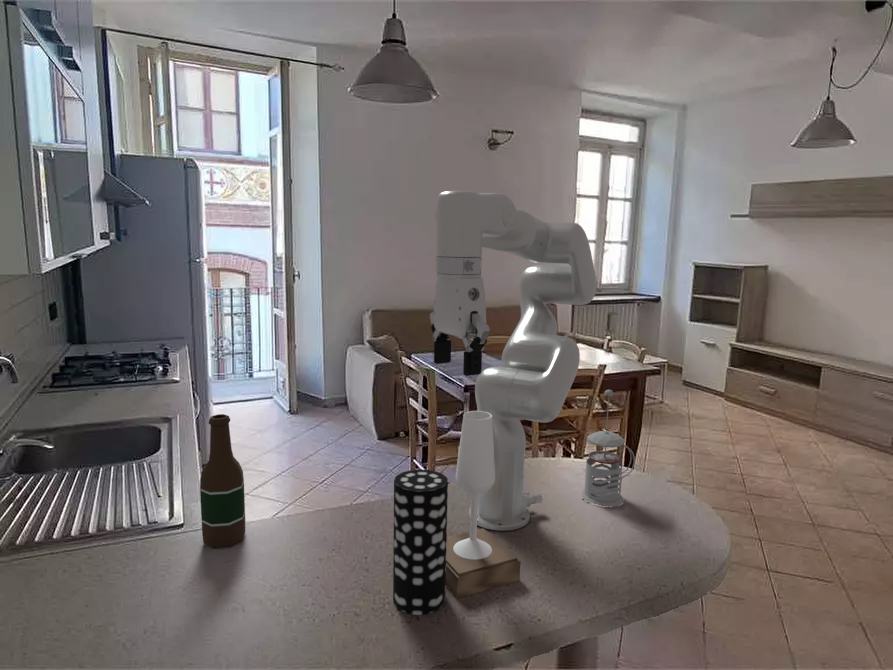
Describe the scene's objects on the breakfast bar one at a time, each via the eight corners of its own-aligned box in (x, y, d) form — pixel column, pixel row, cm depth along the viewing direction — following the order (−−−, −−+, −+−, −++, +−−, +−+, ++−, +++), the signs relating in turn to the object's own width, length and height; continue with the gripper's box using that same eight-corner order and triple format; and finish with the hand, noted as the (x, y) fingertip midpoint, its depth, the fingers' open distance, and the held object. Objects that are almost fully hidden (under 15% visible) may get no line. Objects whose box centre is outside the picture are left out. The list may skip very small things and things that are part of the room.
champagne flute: (453, 559, 98) (458, 421, 94) (452, 538, 104) (456, 408, 100) (494, 559, 98) (500, 421, 94) (490, 539, 104) (495, 409, 100)
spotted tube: (396, 582, 98) (397, 468, 94) (446, 584, 97) (448, 470, 94) (389, 614, 89) (390, 490, 86) (444, 616, 89) (447, 492, 86)
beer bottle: (232, 552, 106) (226, 424, 102) (193, 546, 107) (186, 420, 103) (254, 531, 113) (250, 411, 109) (218, 526, 115) (212, 408, 111)
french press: (573, 488, 136) (579, 384, 132) (621, 487, 137) (629, 384, 133) (588, 508, 127) (595, 395, 122) (639, 506, 128) (648, 395, 124)
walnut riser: (483, 546, 110) (484, 526, 109) (519, 580, 99) (520, 558, 98) (425, 561, 104) (425, 540, 104) (457, 598, 94) (457, 575, 93)
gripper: (508, 270, 91) (504, 377, 94) (451, 264, 106) (449, 357, 109) (467, 271, 88) (465, 382, 91) (414, 265, 102) (413, 361, 105)
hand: (456, 368), depth 100 cm, fingers open, 9 cm apart
